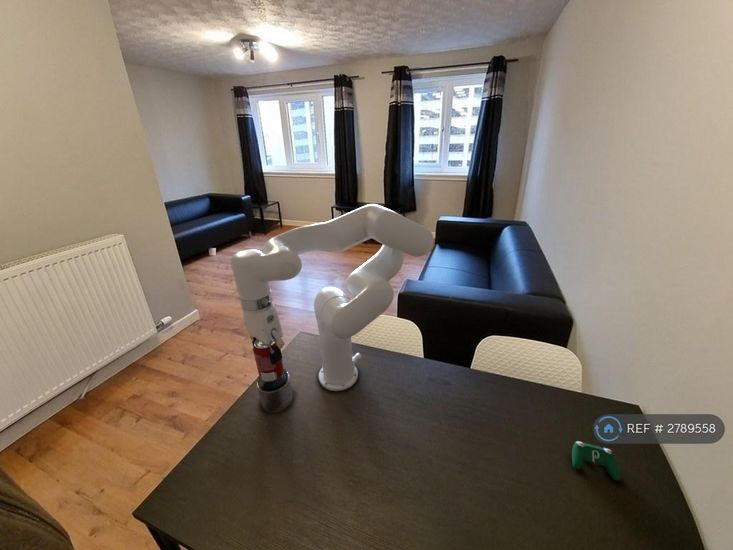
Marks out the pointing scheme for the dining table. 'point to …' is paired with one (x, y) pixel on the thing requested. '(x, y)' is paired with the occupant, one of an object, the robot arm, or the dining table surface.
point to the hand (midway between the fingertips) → (268, 355)
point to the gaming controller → (595, 458)
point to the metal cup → (275, 393)
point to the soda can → (266, 362)
